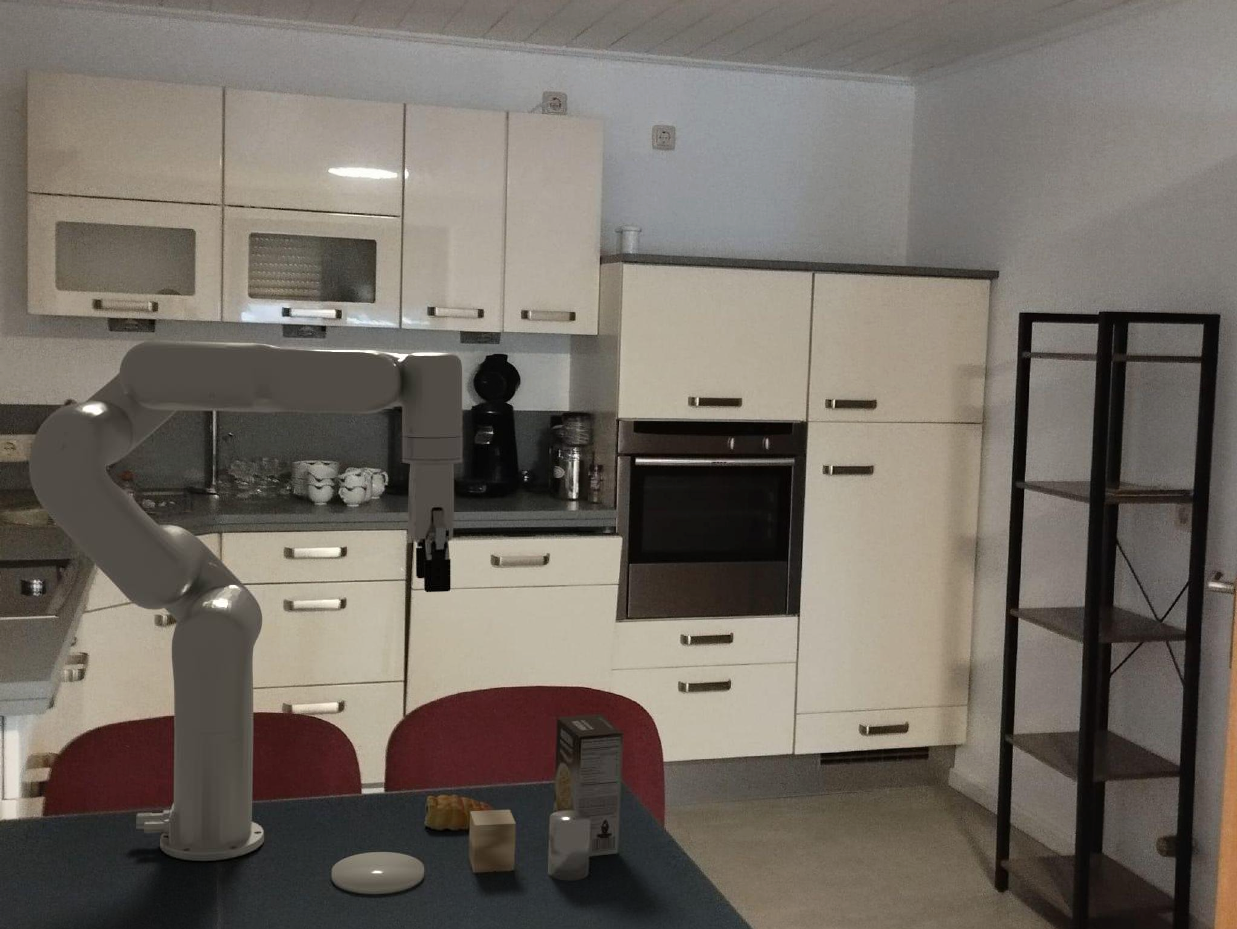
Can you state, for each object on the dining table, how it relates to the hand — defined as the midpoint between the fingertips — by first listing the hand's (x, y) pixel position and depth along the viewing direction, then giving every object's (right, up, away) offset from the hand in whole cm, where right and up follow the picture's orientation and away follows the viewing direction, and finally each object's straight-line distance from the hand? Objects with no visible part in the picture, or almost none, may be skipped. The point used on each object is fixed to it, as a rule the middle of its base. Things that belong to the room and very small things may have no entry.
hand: (432, 584), depth 171 cm
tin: (+17, -35, -6) cm, 40 cm away
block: (+8, -35, -4) cm, 36 cm away
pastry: (+1, -33, +10) cm, 35 cm away
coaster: (-5, -34, -9) cm, 36 cm away
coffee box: (+19, -34, +4) cm, 40 cm away
